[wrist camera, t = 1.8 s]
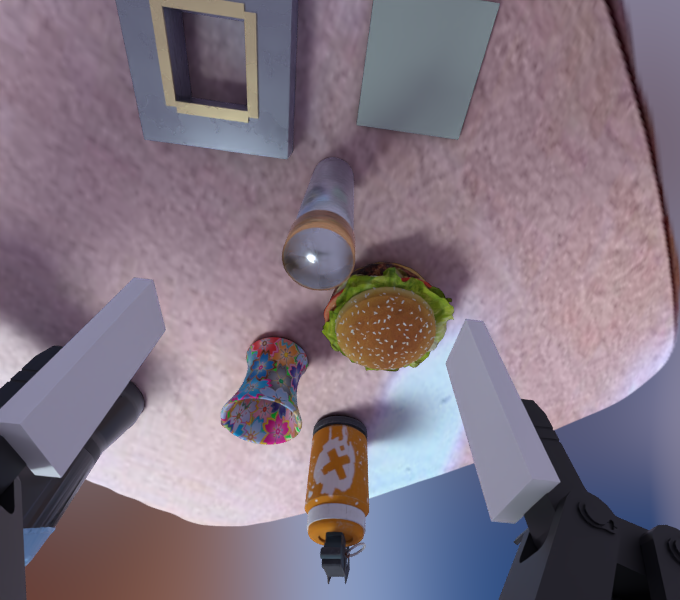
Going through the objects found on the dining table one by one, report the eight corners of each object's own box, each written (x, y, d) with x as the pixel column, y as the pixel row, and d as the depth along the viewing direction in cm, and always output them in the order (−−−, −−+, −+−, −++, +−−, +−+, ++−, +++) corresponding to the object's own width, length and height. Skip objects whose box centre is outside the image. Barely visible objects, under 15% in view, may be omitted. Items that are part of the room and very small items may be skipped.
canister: (364, 411, 53) (368, 564, 37) (369, 448, 60) (374, 593, 43) (309, 413, 54) (290, 564, 38) (320, 450, 60) (307, 592, 44)
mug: (283, 320, 43) (265, 386, 34) (324, 363, 47) (317, 431, 39) (217, 354, 47) (186, 420, 38) (260, 391, 51) (241, 457, 43)
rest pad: (356, 123, 29) (356, 125, 29) (375, -16, 24) (376, -17, 23) (456, 138, 29) (458, 139, 29) (497, 4, 24) (499, 3, 24)
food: (391, 359, 46) (397, 407, 40) (307, 310, 42) (298, 356, 35) (468, 295, 39) (490, 341, 33) (377, 229, 35) (382, 267, 28)
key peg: (310, 197, 33) (281, 286, 20) (313, 153, 31) (282, 221, 18) (351, 203, 33) (349, 294, 20) (358, 159, 31) (360, 231, 18)
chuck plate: (161, 133, 30) (143, 139, 28) (127, -56, 23) (99, -71, 20) (292, 151, 31) (287, 159, 28) (299, -28, 24) (292, -39, 21)
